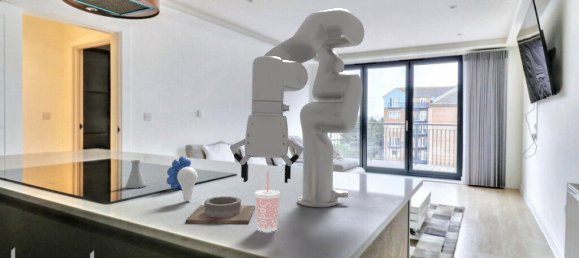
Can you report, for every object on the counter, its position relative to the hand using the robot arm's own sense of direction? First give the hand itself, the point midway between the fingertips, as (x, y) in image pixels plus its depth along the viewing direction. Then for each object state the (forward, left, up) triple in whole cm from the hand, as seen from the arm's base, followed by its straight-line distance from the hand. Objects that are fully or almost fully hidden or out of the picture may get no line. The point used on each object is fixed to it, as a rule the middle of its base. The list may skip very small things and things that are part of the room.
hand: (265, 181), depth 81 cm
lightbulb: (+27, -26, -12) cm, 39 cm away
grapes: (+36, -44, -12) cm, 58 cm away
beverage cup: (0, -1, -12) cm, 12 cm away
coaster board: (+13, -12, -12) cm, 21 cm away
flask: (+53, -47, -12) cm, 71 cm away
